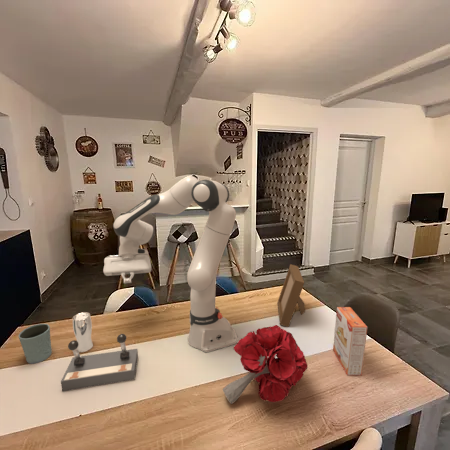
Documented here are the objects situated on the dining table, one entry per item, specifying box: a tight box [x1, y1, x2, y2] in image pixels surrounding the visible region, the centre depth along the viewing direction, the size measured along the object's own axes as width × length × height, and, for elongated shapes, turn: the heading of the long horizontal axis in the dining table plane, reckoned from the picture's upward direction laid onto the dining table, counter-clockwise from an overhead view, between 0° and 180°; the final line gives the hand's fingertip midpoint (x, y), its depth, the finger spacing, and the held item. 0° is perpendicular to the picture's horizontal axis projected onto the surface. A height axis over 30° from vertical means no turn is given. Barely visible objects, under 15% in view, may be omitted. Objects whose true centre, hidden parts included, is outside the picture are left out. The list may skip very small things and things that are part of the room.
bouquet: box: [222, 324, 309, 404], centre depth 88 cm, size 22×24×30 cm
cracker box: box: [332, 306, 369, 376], centre depth 101 cm, size 14×6×21 cm, turn 178°
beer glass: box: [72, 311, 94, 353], centre depth 110 cm, size 7×7×15 cm
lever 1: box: [67, 339, 85, 366], centre depth 93 cm, size 3×3×13 cm
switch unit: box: [60, 348, 139, 392], centre depth 97 cm, size 24×12×4 cm, turn 103°
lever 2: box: [116, 333, 130, 359], centre depth 97 cm, size 3×3×13 cm
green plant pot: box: [18, 323, 53, 365], centre depth 105 cm, size 10×10×12 cm
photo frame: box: [277, 263, 306, 328], centre depth 134 cm, size 15×22×25 cm
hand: (127, 282), depth 112 cm, fingers closed
